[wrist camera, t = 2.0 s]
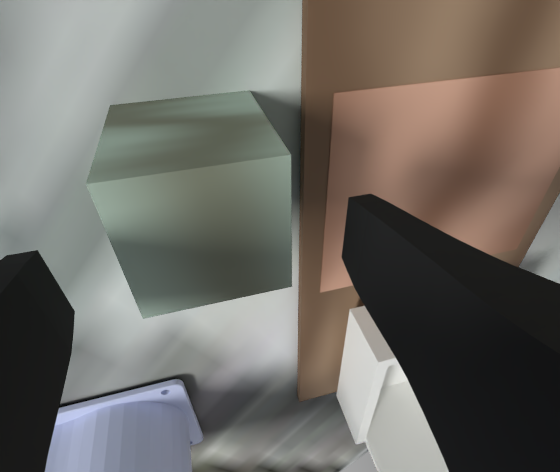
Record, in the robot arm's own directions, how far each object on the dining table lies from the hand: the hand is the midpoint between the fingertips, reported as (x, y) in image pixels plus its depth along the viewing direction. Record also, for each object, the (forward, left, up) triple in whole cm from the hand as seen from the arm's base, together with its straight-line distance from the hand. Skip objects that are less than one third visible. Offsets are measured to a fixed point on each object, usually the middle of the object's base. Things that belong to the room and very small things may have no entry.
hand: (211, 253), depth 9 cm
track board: (+11, -7, -5) cm, 14 cm away
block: (0, 0, -5) cm, 5 cm away
